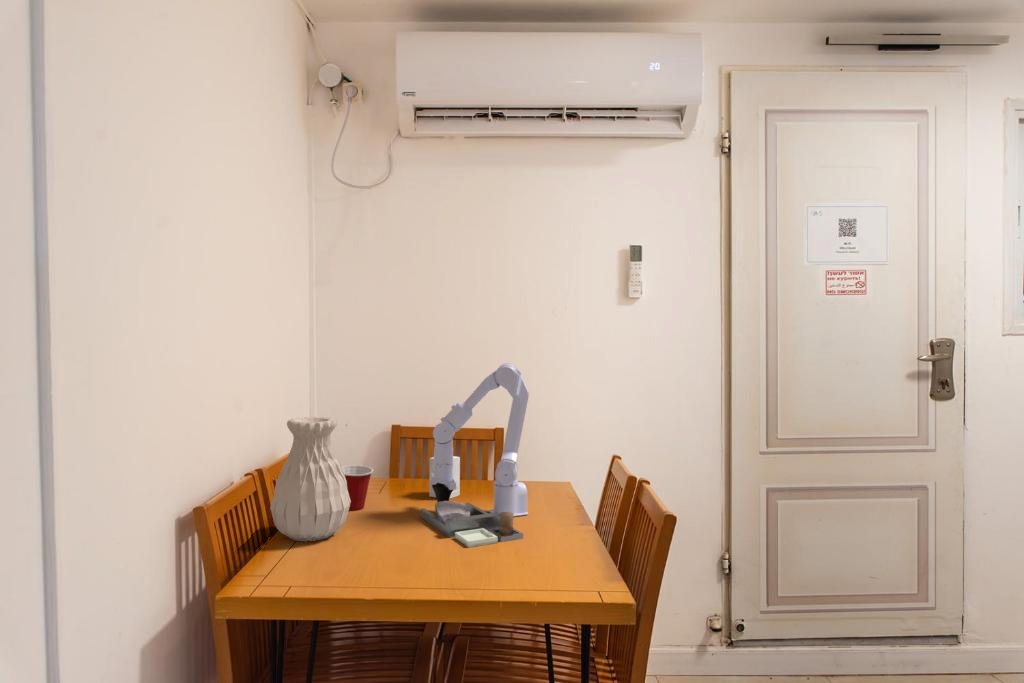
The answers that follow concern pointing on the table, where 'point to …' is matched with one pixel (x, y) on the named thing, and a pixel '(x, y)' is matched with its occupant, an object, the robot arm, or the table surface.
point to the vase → (310, 484)
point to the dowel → (506, 523)
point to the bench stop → (463, 521)
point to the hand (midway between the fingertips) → (442, 508)
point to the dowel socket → (513, 536)
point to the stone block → (451, 510)
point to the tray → (476, 537)
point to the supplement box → (455, 475)
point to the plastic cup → (357, 484)
